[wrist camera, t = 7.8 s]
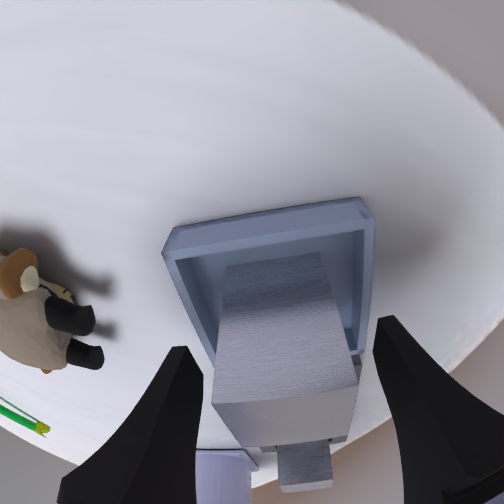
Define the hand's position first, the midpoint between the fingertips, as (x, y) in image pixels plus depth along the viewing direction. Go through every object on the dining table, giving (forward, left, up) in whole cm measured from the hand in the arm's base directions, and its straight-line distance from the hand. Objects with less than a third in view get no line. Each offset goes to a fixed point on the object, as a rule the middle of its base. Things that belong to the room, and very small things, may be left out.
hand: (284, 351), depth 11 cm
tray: (0, 0, -4) cm, 4 cm away
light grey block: (0, 0, -3) cm, 4 cm away
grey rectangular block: (-16, 0, -4) cm, 16 cm away
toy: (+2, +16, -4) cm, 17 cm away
